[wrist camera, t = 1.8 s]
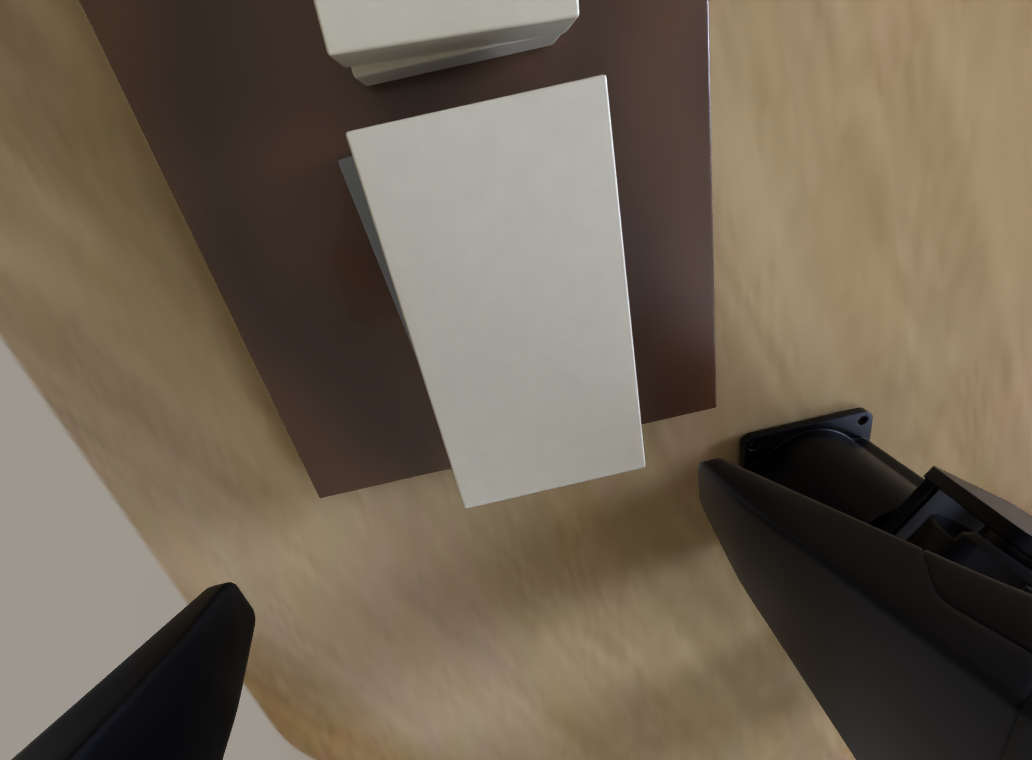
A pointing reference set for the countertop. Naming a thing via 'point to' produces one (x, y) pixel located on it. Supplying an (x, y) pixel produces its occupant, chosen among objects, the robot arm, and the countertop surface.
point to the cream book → (512, 283)
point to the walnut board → (338, 227)
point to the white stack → (435, 32)
